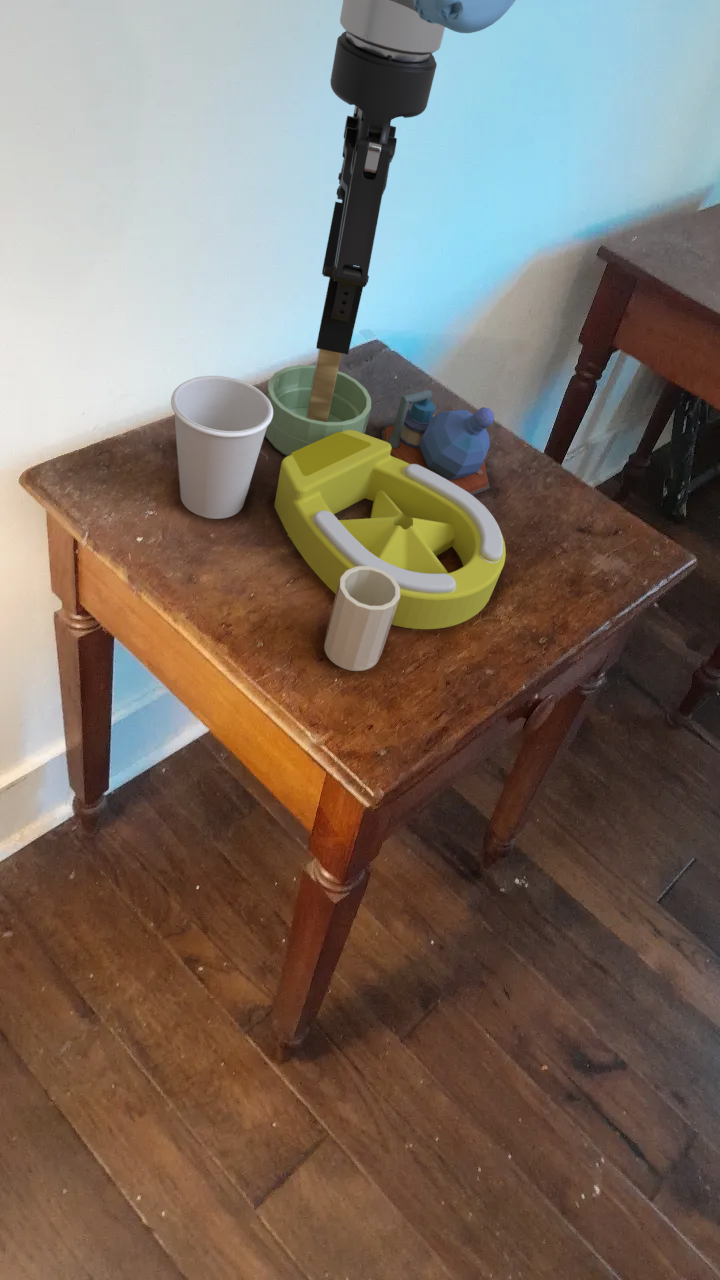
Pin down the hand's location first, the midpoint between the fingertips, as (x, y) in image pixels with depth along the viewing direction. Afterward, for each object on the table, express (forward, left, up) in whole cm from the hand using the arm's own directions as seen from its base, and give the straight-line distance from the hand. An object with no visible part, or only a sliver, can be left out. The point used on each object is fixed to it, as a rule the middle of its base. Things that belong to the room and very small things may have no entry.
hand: (334, 310), depth 84 cm
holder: (+5, -28, -14) cm, 31 cm away
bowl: (0, 0, -14) cm, 14 cm away
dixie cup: (-8, -12, -14) cm, 20 cm away
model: (+13, 0, -14) cm, 19 cm away
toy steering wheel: (+8, -15, -14) cm, 22 cm away
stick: (0, 0, -13) cm, 13 cm away
